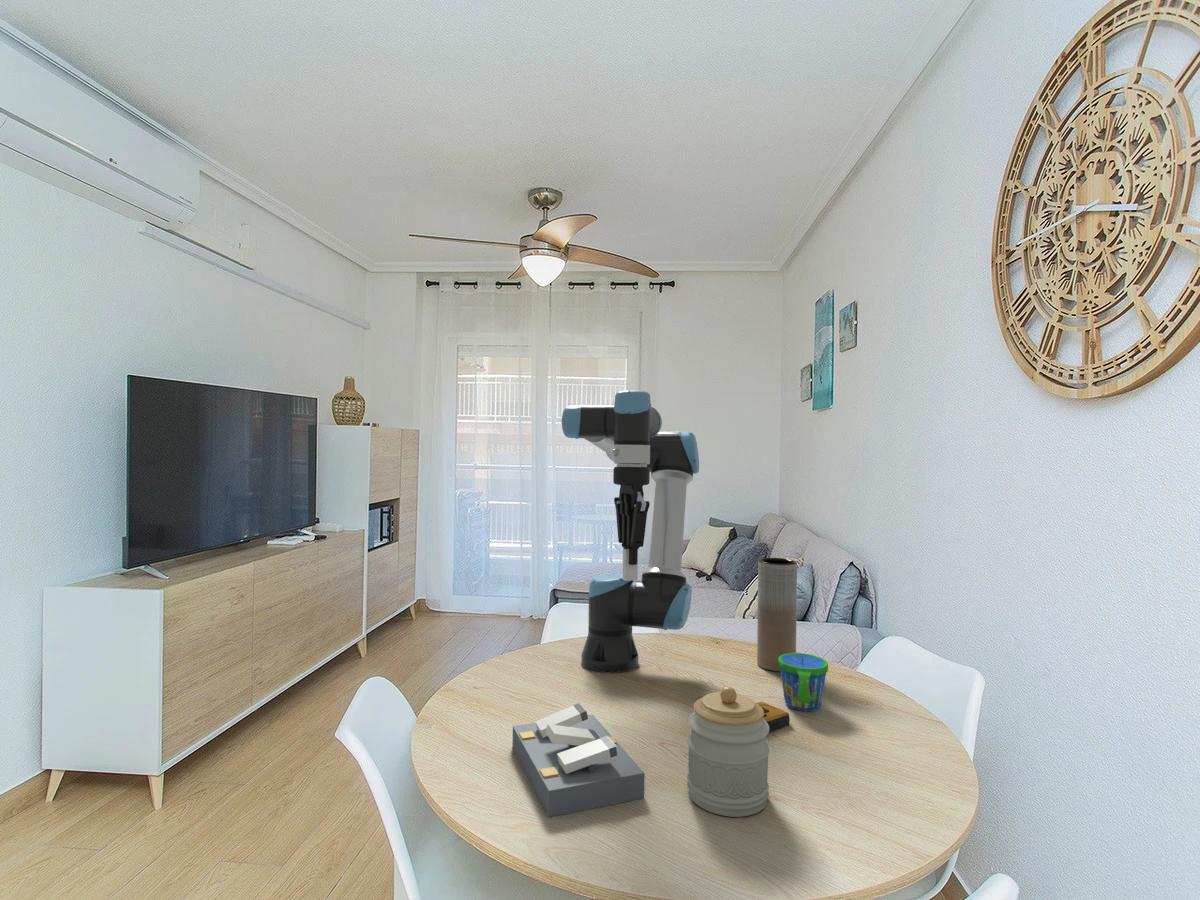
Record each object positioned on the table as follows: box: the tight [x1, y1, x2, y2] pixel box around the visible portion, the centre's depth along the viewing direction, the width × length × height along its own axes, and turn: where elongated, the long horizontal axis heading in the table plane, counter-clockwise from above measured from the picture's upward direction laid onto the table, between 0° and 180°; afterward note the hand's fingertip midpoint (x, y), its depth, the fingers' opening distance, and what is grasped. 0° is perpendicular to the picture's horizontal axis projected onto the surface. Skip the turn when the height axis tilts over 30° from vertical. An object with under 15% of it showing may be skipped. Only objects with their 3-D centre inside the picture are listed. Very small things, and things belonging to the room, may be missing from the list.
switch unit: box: [512, 714, 646, 818], centre depth 109 cm, size 24×16×5 cm, turn 21°
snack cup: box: [778, 652, 829, 712], centre depth 139 cm, size 16×10×10 cm
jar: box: [686, 686, 770, 818], centre depth 102 cm, size 13×13×18 cm
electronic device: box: [755, 701, 791, 733], centre depth 128 cm, size 8×16×3 cm, turn 124°
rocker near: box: [557, 736, 618, 774], centre depth 102 cm, size 4×9×2 cm, turn 111°
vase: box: [756, 557, 798, 673], centre depth 165 cm, size 10×10×28 cm
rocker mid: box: [546, 724, 600, 746], centre depth 109 cm, size 4×9×2 cm, turn 111°
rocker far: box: [534, 702, 589, 738], centre depth 115 cm, size 4×9×2 cm, turn 111°
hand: (630, 579), depth 129 cm, fingers closed
